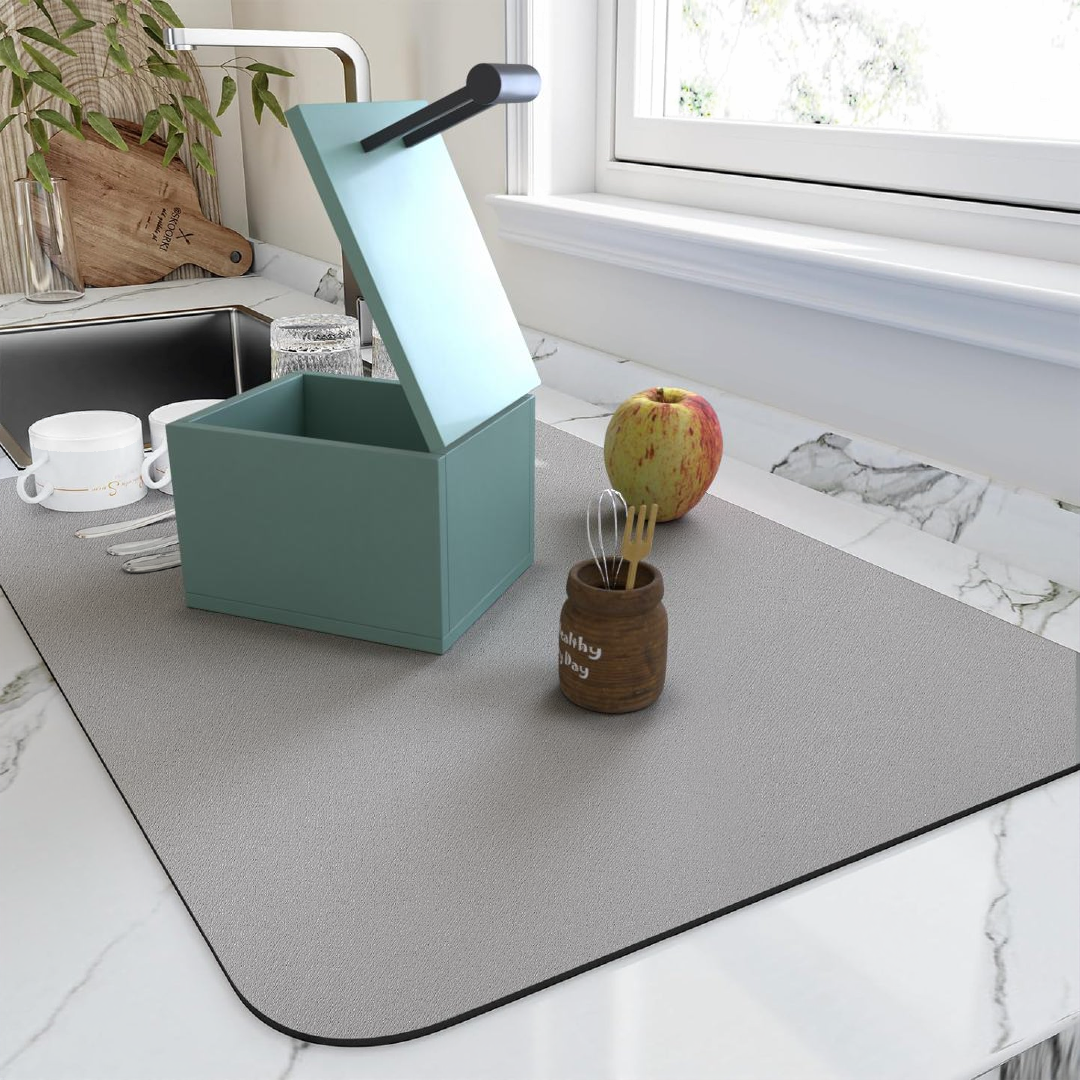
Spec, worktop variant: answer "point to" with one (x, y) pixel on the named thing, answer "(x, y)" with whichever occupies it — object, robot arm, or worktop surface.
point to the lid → (423, 246)
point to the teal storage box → (350, 510)
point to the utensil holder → (615, 625)
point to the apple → (663, 451)
